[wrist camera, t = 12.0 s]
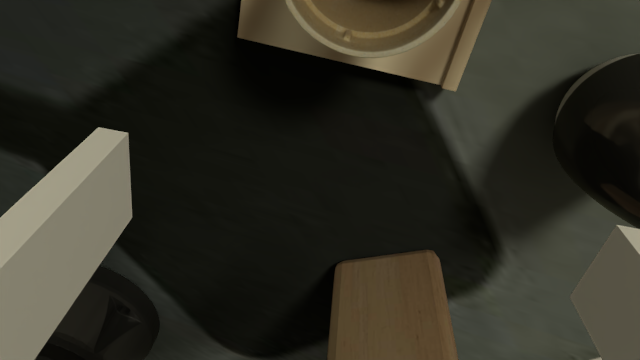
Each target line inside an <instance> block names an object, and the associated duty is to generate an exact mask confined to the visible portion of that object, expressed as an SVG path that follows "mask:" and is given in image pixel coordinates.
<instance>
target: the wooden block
mask: <svg viewBox="0 0 640 360" xmlns="http://www.w3.org/2000/svg"><path fill="white" fill-rule="evenodd" d="M327 360H458V355H457V350H456V345H455V340H454V334H453V329H452V324H451V318H450V313H449V308H448V302H447V297H446V292H445V286H444V281H443V276H442V270H441V265H440V260H439V258H438V257H437V255H436V254H435V253H434V251H431V250H421V251H413V252H406V253H398V254H391V255H384V256H376V257H369V258H361V259H354V260H347V261H342V262H340V263H338V264H337V266H336V268H335V273H334V284H333V295H332V307H331V318H330V330H329V341H328V353H327Z"/></svg>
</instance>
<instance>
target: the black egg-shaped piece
mask: <svg viewBox="0 0 640 360" xmlns="http://www.w3.org/2000/svg"><path fill="white" fill-rule="evenodd" d="M553 146H554V151H555V155H556V157H557V160H558V162H559V163H560V165H561V167H562V168H563V169H564V171H565V172H566V173H567V175H568V176H569V177H570V178H571V179H572V180H573V181H574V182H575V183H576V184H577V185H578V186H579V187H580V188H581V189H582V190H583V191H585V192H586V193H587V194H588V195H589V196H590V197H592V198H593V199H594V200H595V201H597V202H598V203H599V204H600V205H602V206H603V207H605V208H606V209H608V210H609V211H610V212H612V213H613V214H615V215H617V216H618V217H620V218H621V219H623V220H625V221H626V222H628V223H629V224H631V225H633V226H634V227H636V228H638V229H640V54H631V55H626V56H621V57H617V58H614V59H611V60H609V61H606V62H604V63H602V64H600V65H598V66H596V67H594V68H593V69H591V70H589V71H588V72H587V73H585V74H584V75H583V76H582V77H580V78H579V79H578V80H577V81H576V82H575V83H574V84H573V85H572V86H571V88H570V89H569V90H568V92H567V93H566V94H565V96H564V98H563V100H562V102H561V104H560V106H559V108H558V111H557V115H556V119H555V126H554V131H553Z"/></svg>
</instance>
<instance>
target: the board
mask: <svg viewBox="0 0 640 360" xmlns="http://www.w3.org/2000/svg"><path fill="white" fill-rule="evenodd" d="M490 3H491V0H462V1H461V2H460V4H459V6H458V8H457V9H456V10H455V12H454V14H453V15H452V17H451V18H450V19H449V20H448V21H447V23H446V24H445V25H444V26H443V27H442V28H441V29H440V30H439V31H438V32H437V33H436V34H434V35H433V36H432V37H431V38H430V39H428V40H427V41H425V42H423V43H422V44H421V45H419V46H417V47H415V48H413V49H411V50H408V51H407V52H403V53H401V54H397V55H393V56H388V57H382V58H361V57H354V56H349V55H346V54H343V53H340V52H337V51H335V50H332V49H330V48H328V47H327V46H325V45H323V44H321V43H320V42H318V41H316V40H315V39H314V38H313V37H312V36H311V35H309V34H308V33H307V32H306V31H305V30H304V29H303V28H302V27H301V26H300V25H299V24H298V22H297V21H296V19H295V18H294V17H293V15H292V13H291V12H290V10H289V9H288V7H287V5H286V3H285V0H241V9H240V18H239V27H238V36H237V37H238V38H242V39H246V40H250V41H255V42H259V43H263V44H267V45H272V46H276V47H280V48H285V49H289V50H293V51H297V52H302V53H306V54H310V55H314V56H319V57H323V58H327V59H331V60H336V61H340V62H344V63H348V64H353V65H357V66H361V67H366V68H370V69H374V70H378V71H383V72H387V73H391V74H395V75H400V76H404V77H408V78H412V79H417V80H421V81H425V82H429V83H434V84H438V85H441V87H442V88H443V89H447V90H452V91H456V89H457V87H458V84H459V82H460V79H461V77H462V74H463V71H464V69H465V66H466V64H467V61H468V59H469V56H470V54H471V51H472V49H473V46H474V43H475V41H476V38H477V36H478V33H479V31H480V28H481V26H482V23H483V21H484V18H485V16H486V13H487V10H488V8H489V5H490Z"/></svg>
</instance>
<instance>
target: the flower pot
mask: <svg viewBox="0 0 640 360" xmlns="http://www.w3.org/2000/svg"><path fill="white" fill-rule="evenodd" d="M461 1H462V0H285V3H286V5H287V7H288V9H289V10H290V12H291V13H292V15H293V17H294V18H295V19H296V21H297V22H298V24H299V25H300V26H301V27H302V28H303V29H304V30H305V31H306V32H307V33H308V34H309V35H311V36H312V37H313V38H314V39H315V40H316V41H318V42H320V43H321V44H323V45H325V46H327V47H328V48H330V49H332V50H335V51H337V52H340V53H343V54H346V55H349V56H354V57H361V58H382V57H388V56H393V55H397V54H401V53H403V52H407V51H408V50H411V49H413V48H415V47H417V46H419V45H421V44H422V43H423V42H425V41H427V40H428V39H430V38H431V37H432V36H433V35H434V34H436V33H437V32H438V31H439V30H440V29H441V28H442V27H443V26H444V25H445V24H446V23H447V21H448V20H449V19H450V18H451V17H452V15H453V14H454V12H455V10H456V9H457V8H458V6H459V4H460V2H461Z"/></svg>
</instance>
